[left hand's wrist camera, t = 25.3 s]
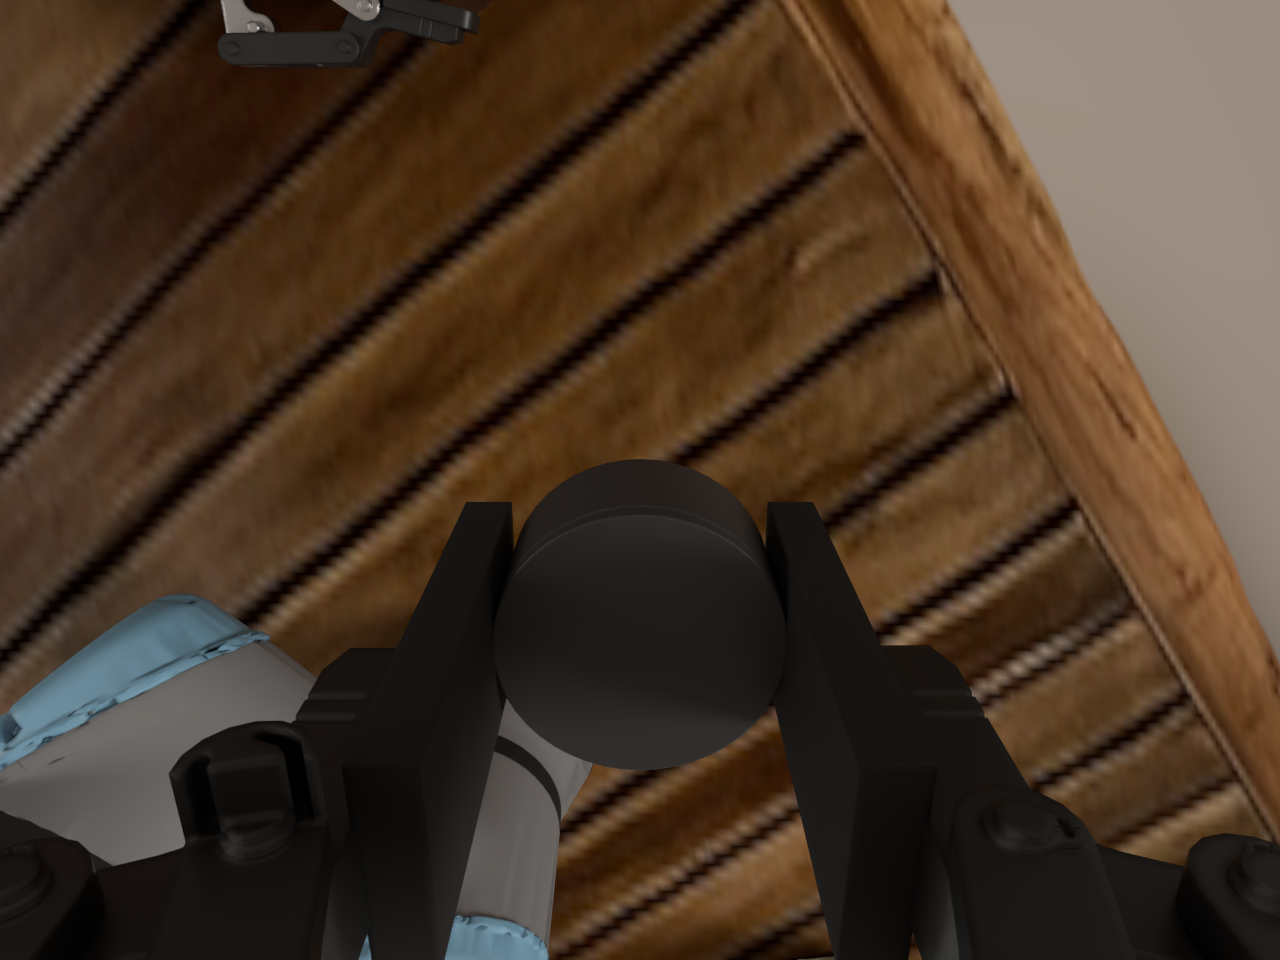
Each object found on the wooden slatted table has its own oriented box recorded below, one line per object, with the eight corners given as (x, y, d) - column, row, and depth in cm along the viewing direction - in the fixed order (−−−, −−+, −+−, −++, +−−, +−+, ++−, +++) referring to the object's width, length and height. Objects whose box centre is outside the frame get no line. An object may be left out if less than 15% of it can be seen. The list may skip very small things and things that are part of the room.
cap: (802, 494, 14) (831, 558, 12) (723, 707, 16) (736, 797, 14) (545, 427, 14) (527, 481, 12) (489, 652, 15) (464, 736, 13)
